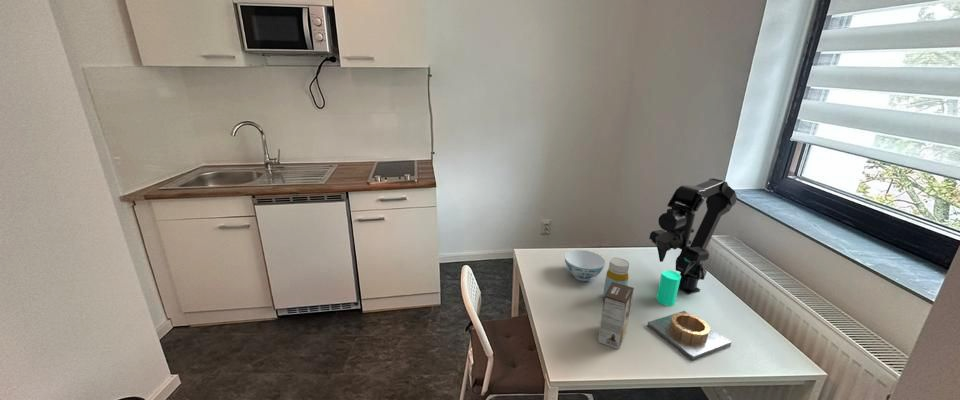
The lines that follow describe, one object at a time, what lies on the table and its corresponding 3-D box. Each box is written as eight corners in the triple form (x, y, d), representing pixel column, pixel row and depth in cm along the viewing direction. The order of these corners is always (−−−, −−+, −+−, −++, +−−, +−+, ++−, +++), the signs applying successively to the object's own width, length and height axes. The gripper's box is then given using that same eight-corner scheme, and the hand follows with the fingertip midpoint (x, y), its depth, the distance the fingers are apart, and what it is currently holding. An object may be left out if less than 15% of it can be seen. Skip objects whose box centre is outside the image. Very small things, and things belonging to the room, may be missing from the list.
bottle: (625, 307, 127) (632, 268, 122) (603, 304, 128) (609, 265, 123) (622, 296, 133) (628, 258, 128) (601, 293, 134) (607, 256, 129)
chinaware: (607, 274, 147) (609, 256, 145) (596, 291, 135) (598, 272, 133) (570, 263, 155) (572, 246, 152) (556, 279, 143) (558, 261, 140)
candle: (673, 298, 133) (680, 268, 129) (676, 307, 127) (683, 276, 123) (655, 294, 134) (661, 264, 130) (657, 303, 129) (663, 273, 125)
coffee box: (605, 325, 117) (612, 280, 112) (626, 332, 114) (634, 287, 109) (596, 342, 110) (604, 295, 105) (619, 350, 107) (627, 302, 102)
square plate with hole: (683, 314, 124) (686, 302, 122) (730, 346, 110) (734, 333, 108) (646, 326, 117) (649, 314, 116) (692, 361, 104) (695, 347, 102)
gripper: (641, 217, 127) (633, 258, 131) (690, 239, 110) (678, 285, 115) (665, 214, 131) (656, 254, 136) (715, 234, 115) (703, 279, 120)
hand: (672, 267), depth 127 cm, fingers open, 9 cm apart
